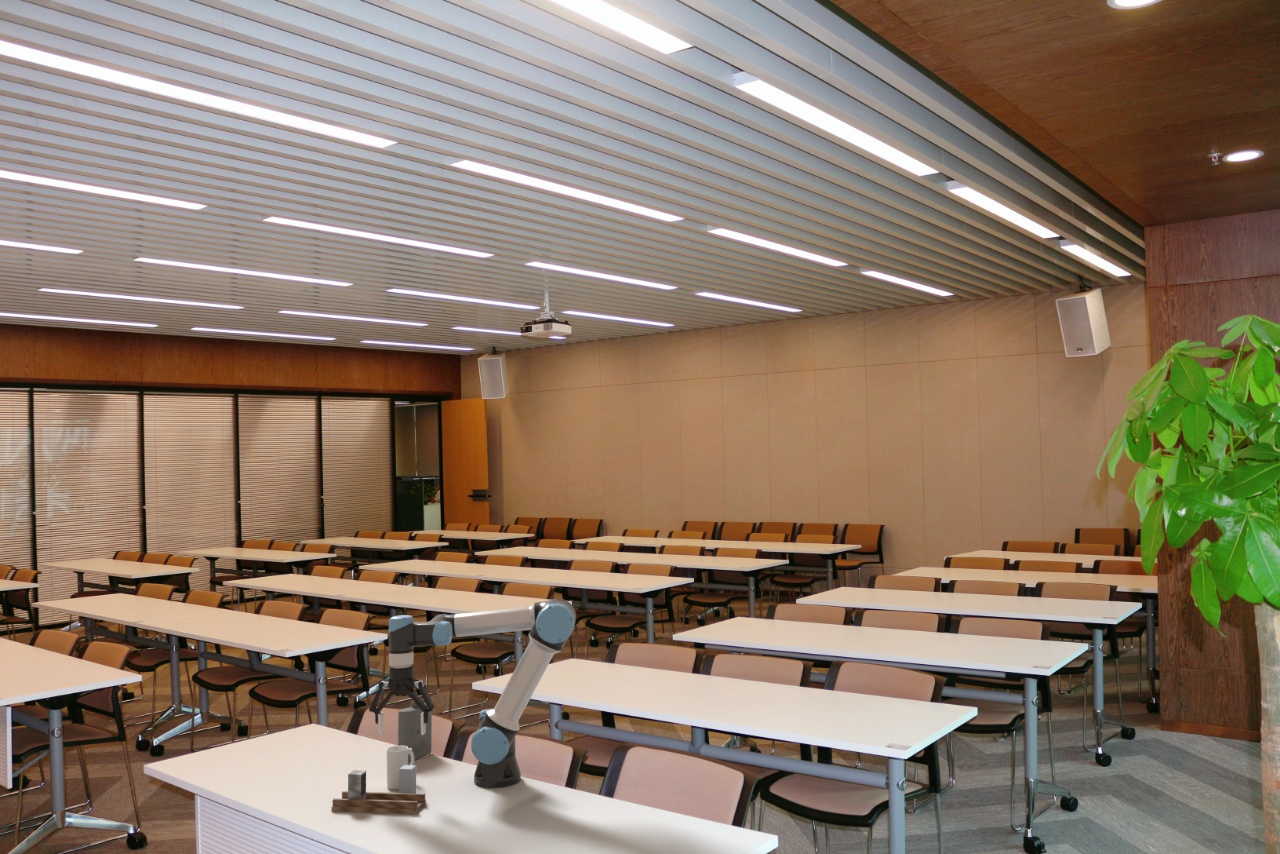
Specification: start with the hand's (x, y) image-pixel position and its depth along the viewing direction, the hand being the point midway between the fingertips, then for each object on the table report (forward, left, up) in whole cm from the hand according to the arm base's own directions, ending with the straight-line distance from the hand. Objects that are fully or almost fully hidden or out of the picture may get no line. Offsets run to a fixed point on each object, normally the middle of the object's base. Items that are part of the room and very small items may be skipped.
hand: (402, 734), depth 299 cm
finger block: (-2, +1, -19) cm, 19 cm away
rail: (+3, +11, -19) cm, 22 cm away
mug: (+4, -10, -19) cm, 22 cm away
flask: (+10, -40, -19) cm, 45 cm away
